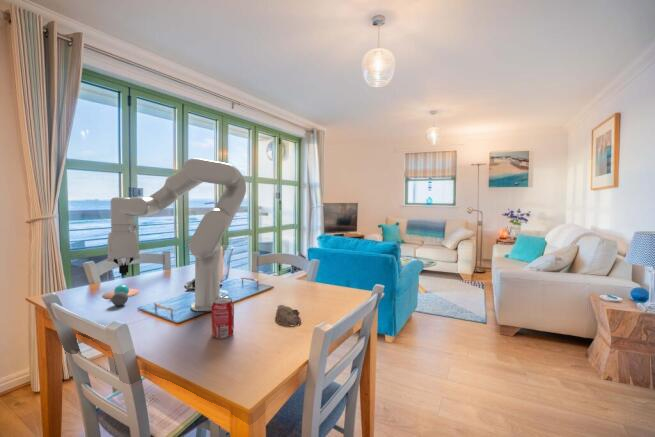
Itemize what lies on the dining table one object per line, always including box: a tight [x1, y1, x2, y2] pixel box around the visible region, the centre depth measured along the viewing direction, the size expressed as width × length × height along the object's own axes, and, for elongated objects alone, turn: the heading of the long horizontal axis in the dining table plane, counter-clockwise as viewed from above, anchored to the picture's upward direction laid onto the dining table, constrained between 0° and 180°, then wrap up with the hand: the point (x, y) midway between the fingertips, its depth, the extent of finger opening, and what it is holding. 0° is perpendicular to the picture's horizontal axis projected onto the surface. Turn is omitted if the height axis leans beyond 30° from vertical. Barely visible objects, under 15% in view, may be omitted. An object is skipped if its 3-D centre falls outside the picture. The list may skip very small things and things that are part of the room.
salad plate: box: [184, 277, 223, 292], centre depth 156 cm, size 19×18×5 cm
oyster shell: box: [274, 304, 302, 326], centre depth 115 cm, size 10×12×5 cm
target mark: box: [102, 288, 140, 300], centre depth 139 cm, size 14×14×1 cm
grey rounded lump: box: [111, 292, 129, 307], centre depth 124 cm, size 6×6×6 cm
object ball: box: [113, 284, 130, 294], centre depth 134 cm, size 6×6×6 cm
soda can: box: [211, 296, 235, 340], centre depth 100 cm, size 7×7×12 cm
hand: (123, 274), depth 120 cm, fingers closed
